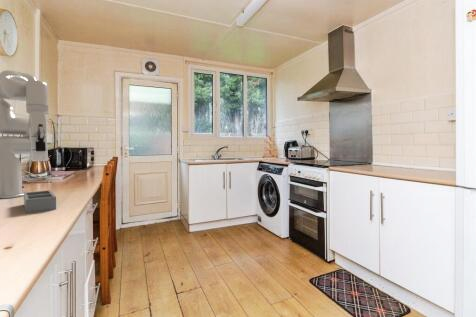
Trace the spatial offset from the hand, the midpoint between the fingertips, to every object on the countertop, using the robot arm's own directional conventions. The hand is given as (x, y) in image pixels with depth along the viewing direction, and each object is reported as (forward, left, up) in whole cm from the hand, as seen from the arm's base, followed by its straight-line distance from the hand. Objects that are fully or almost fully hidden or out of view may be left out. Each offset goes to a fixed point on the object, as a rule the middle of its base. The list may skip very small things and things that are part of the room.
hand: (38, 150), depth 110 cm
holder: (-1, +1, -25) cm, 25 cm away
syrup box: (0, 0, -5) cm, 5 cm away
